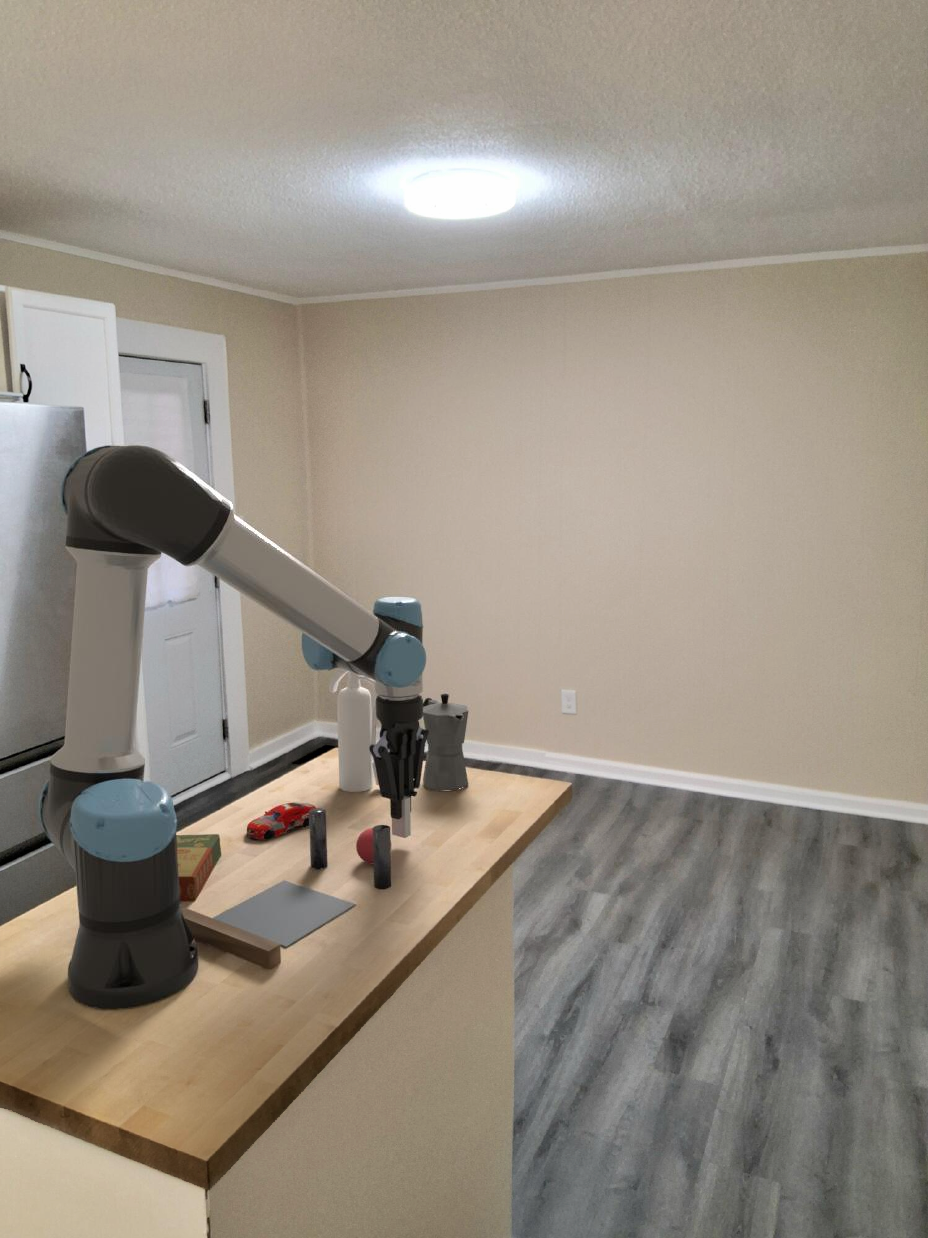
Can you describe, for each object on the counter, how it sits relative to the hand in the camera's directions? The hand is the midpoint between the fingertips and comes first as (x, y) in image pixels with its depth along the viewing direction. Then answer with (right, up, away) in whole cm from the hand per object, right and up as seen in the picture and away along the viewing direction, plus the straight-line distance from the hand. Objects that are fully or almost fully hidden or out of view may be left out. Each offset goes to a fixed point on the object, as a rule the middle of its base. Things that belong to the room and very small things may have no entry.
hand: (401, 834), depth 154 cm
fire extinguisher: (-10, +3, +28) cm, 30 cm away
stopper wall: (-21, -7, -31) cm, 38 cm away
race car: (-21, -1, +8) cm, 23 cm away
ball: (-4, 0, -6) cm, 7 cm away
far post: (-12, -3, -7) cm, 15 cm away
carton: (-33, -5, -10) cm, 35 cm away
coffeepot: (+6, +3, +31) cm, 31 cm away
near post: (-2, -4, -14) cm, 15 cm away
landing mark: (-15, -6, -22) cm, 27 cm away
